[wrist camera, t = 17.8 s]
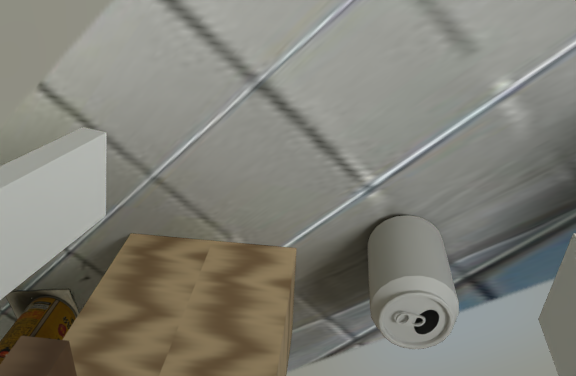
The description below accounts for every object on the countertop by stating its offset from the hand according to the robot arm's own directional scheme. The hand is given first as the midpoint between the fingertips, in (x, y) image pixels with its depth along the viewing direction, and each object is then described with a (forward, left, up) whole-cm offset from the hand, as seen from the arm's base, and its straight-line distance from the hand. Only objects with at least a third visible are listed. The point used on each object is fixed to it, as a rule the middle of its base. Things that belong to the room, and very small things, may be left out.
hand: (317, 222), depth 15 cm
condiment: (+33, +38, -34) cm, 61 cm away
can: (-8, +23, -34) cm, 42 cm away
